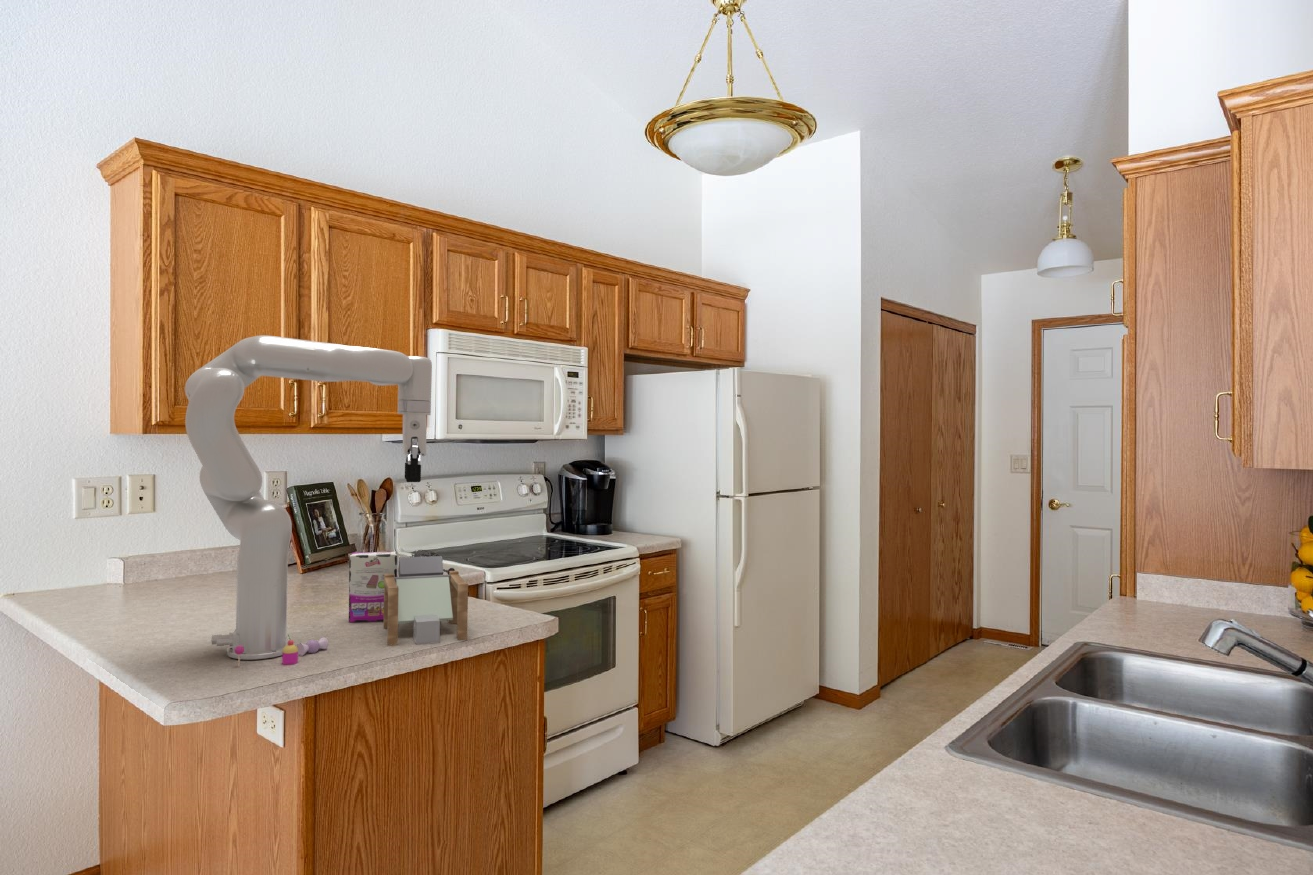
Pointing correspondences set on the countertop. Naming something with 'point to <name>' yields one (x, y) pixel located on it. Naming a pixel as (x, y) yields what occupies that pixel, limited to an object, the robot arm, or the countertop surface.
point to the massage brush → (428, 556)
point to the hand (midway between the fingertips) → (412, 480)
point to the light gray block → (426, 629)
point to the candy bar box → (369, 584)
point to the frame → (457, 601)
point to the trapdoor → (423, 589)
